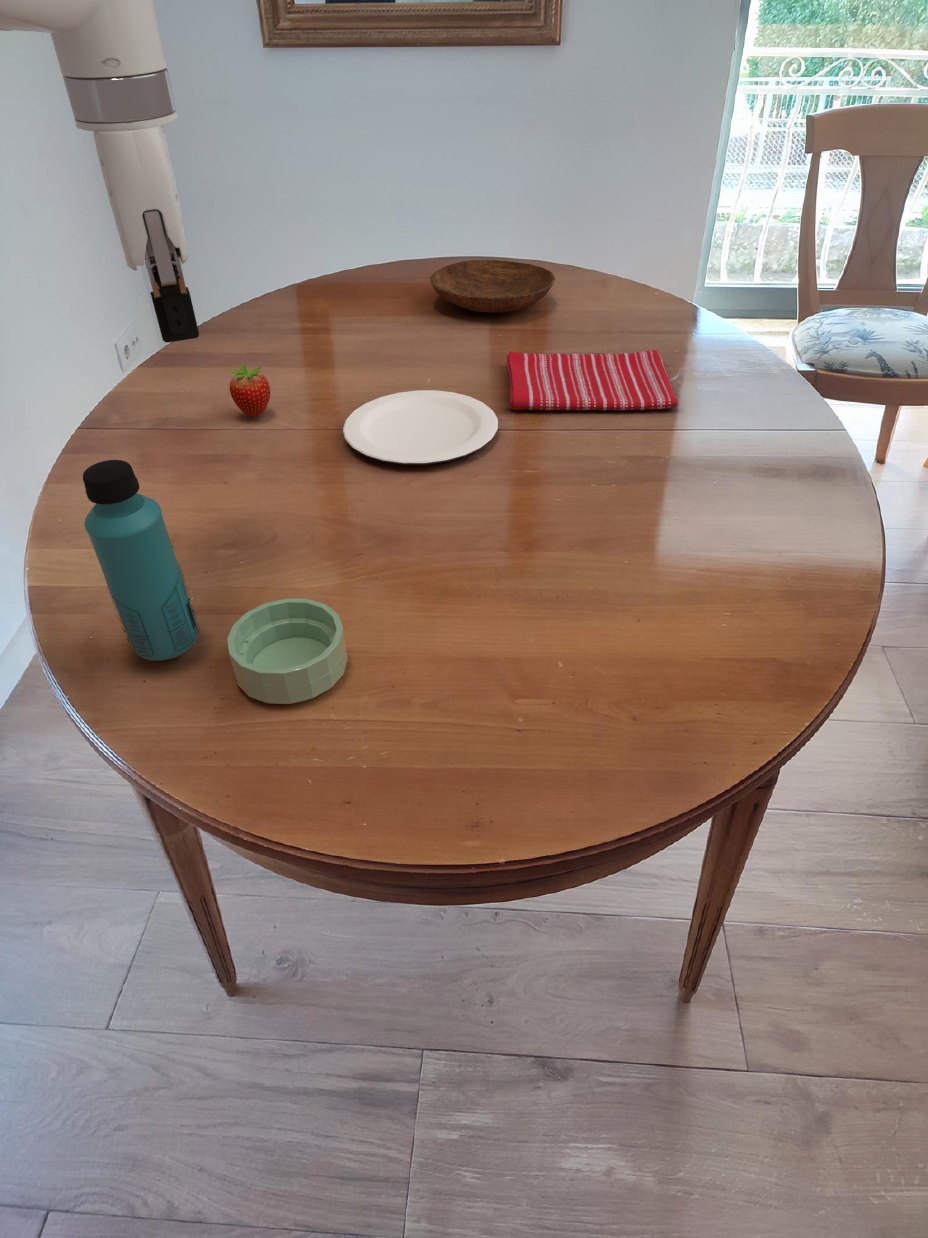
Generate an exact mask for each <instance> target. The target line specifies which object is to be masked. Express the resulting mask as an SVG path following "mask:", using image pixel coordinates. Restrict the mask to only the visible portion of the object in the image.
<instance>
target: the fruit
mask: <svg viewBox="0 0 928 1238" xmlns="http://www.w3.org/2000/svg"><path fill="white" fill-rule="evenodd" d="M261 368H262V366H259V367H257V368H254V369H253V370H251V369H250V370H249V369H248V368H247V365H246V363H244V366H243V364H242V363H239V369H240V370H236V369H233V368H231V367H228V369H229V370H230V371H231V372H232V373H233V374H236V375H234V376H233V377H232V378H231V380H230V381H229V387H228V388H229V393H230V396H231V399H232V400H233V402H234V404H235V405H236V407H237V408H238V409H239V410H240V411H241V412H242V413H243V415H246V416H247V417H250V418H255V419H256V418H259V417H260V416H261V415H263V414H264V412H265V411H266V409H267V407H268V405H269V402H270V399H271V385H270V383H269V380H268V379H267V377H266V376H265V374H264V373H262V370H261Z"/></svg>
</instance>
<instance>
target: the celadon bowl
mask: <svg viewBox="0 0 928 1238" xmlns="http://www.w3.org/2000/svg"><path fill="white" fill-rule="evenodd" d="M340 617H341V616H340V615H339V614H338V613H337V612H336V611H335V610H334V609H332V608H331V607H330V606H329V605H327V604H326V603H322V602H319V601H316V600H313V599H310V598H291V597H289V598H282V599H278V600H273V601H269V602H265V603H263V604H260V605H258V606H256V607H254V608H252V609H250V610H248V611H247V612H245V613H244V614H243V615H242V616H241V617H240V618H238V620H236V621H235V622H234V623H233V624H232V627H231V629H230V631H229V634H228V636H227V637H226V644H227V651H228V655H229V659H230V663H231V667H232V669H233V673H234V678H235V681H236V683H237V685H238V687H239V688H240V689H241V690H242V691H244V693H245V694H246V695H247V696H248V697H249V698H252V699H254V700H257V701H259V702H262V703H265V704H272V705H273V704H275V705H278V704H279V705H292V704H298V703H301V702H305V701H308V700H312V699H314V698H316V697H318V696H319V695H321V694H323V693H325V692H327V691H329V690H330V689H332V688H333V687H335V684H337V682H339V680H340V679H341V678H342V677H343V676H344V674H345V671H346V667H347V664H348V660H349V659H348V658H349V657H348V656H349V655H348V651H347V650H348V649H347V645H346V644H347V643H346V638H345V631H344V627H343V624H342V620H341V618H340Z"/></svg>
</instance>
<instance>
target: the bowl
mask: <svg viewBox="0 0 928 1238" xmlns="http://www.w3.org/2000/svg"><path fill="white" fill-rule="evenodd" d="M429 281H430V284H431V286H432V288H433V290H434V291H435V293H437V294H438V295H439V296H440V297H441V298H442V299H443V300H444V301H446V302H448V303H450V304H452V305H455V306H458V307H459V308H462V309H465V310H469V311H472V312H476V313H489V314H491V313H492V314H501V313H509V312H510V313H511V312H514V311H519V310H521V309H525V308H527V307H529V306H532V305H535V304H536V303H538V302H539V301H540V300H541V299H543V298H544V297H545V296H546V295H547V294H548V293H549V292H550V290H551V288H552V287H553V285H554V283H555V281H556V277H555V275H554V274H553V272H552V271H551V270H549V269H546V268H545V267H543V266H538V265H535V264H532V263H524V262H518V261H507V260H498V259H496V260H495V259H473V260H464V261H459V262H455V263H451V264H448V265H445V266H443V267H442V268H440V269H438V270H435V272H434V273H432V275H431V276H430V277H429Z"/></svg>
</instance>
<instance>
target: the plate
mask: <svg viewBox="0 0 928 1238" xmlns="http://www.w3.org/2000/svg"><path fill="white" fill-rule="evenodd" d="M496 415H497V414H496V413H495V411H494V410H493V409H492V408H490V407H489V406H488V405H487V404H485V403H484V402H483V401H480V400H479V399H476V398H473V397H471V396H470V395H465V394H461V393H457V392H454V391H446V390H434V389H431V390H430V389H429V390H423V389H422V390H421V389H420V390H417V389H416V390H409V391H402V392H401V391H400V392H395V393H391V394H388V395H383V396H379V397H378V398H375V399H373V400H370V401H368V402H365V403H363V404H362V405H361V406H359V407H357V408H356V409H355V410H353V412H351V413H350V415H349V416H348V417H347V418H346V419H345V421H344V424H343V427H342V432H343V436H344V440H345V442H346V443H347V444H348V445H349V446H350V447H351V448H352V449H353V450H354V451H356V452H358V453H359V454H361V455H363V456H365V457H366V458H370V459H373V460H376V461H380V462H383V463H388V464H394V465H395V464H396V465H402V466H403V465H404V466H408V465H409V466H410V465H411V466H413V465H414V466H418V465H420V466H421V465H423V466H424V465H426V466H427V465H433V464H441V463H447V462H452V461H454V460H458V459H462V458H464V457H467V456H469V455H471V454H473V453H475V452H477V451H479V450H481V449H483V448H484V447H485V446H486V445H488V444H489V443H490V442H491V441H492V440H493V439H494V437H495V436H496V434H497V432H498V431H499V430H498V429H499V419H498V417H497V416H496Z"/></svg>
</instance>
